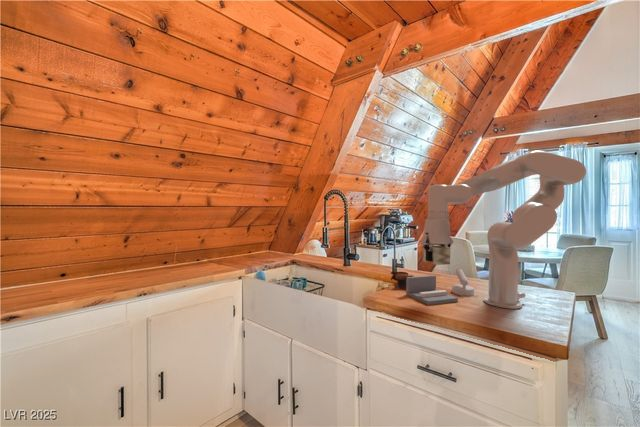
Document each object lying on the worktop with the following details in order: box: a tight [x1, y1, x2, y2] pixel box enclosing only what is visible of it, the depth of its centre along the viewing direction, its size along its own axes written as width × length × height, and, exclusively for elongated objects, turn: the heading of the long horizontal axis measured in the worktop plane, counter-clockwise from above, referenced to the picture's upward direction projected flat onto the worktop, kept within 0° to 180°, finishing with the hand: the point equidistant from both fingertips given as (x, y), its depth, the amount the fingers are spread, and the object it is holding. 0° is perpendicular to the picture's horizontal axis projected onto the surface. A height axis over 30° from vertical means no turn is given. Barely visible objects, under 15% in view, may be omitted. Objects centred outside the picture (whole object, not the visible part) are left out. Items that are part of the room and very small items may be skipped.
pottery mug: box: [390, 271, 415, 290], centre depth 136 cm, size 12×10×8 cm
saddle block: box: [422, 245, 452, 266], centre depth 116 cm, size 6×8×6 cm
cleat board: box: [405, 274, 459, 306], centre depth 119 cm, size 14×14×8 cm
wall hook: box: [451, 268, 475, 297], centre depth 128 cm, size 9×10×10 cm
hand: (436, 260), depth 116 cm, fingers closed on saddle block, 6 cm apart
